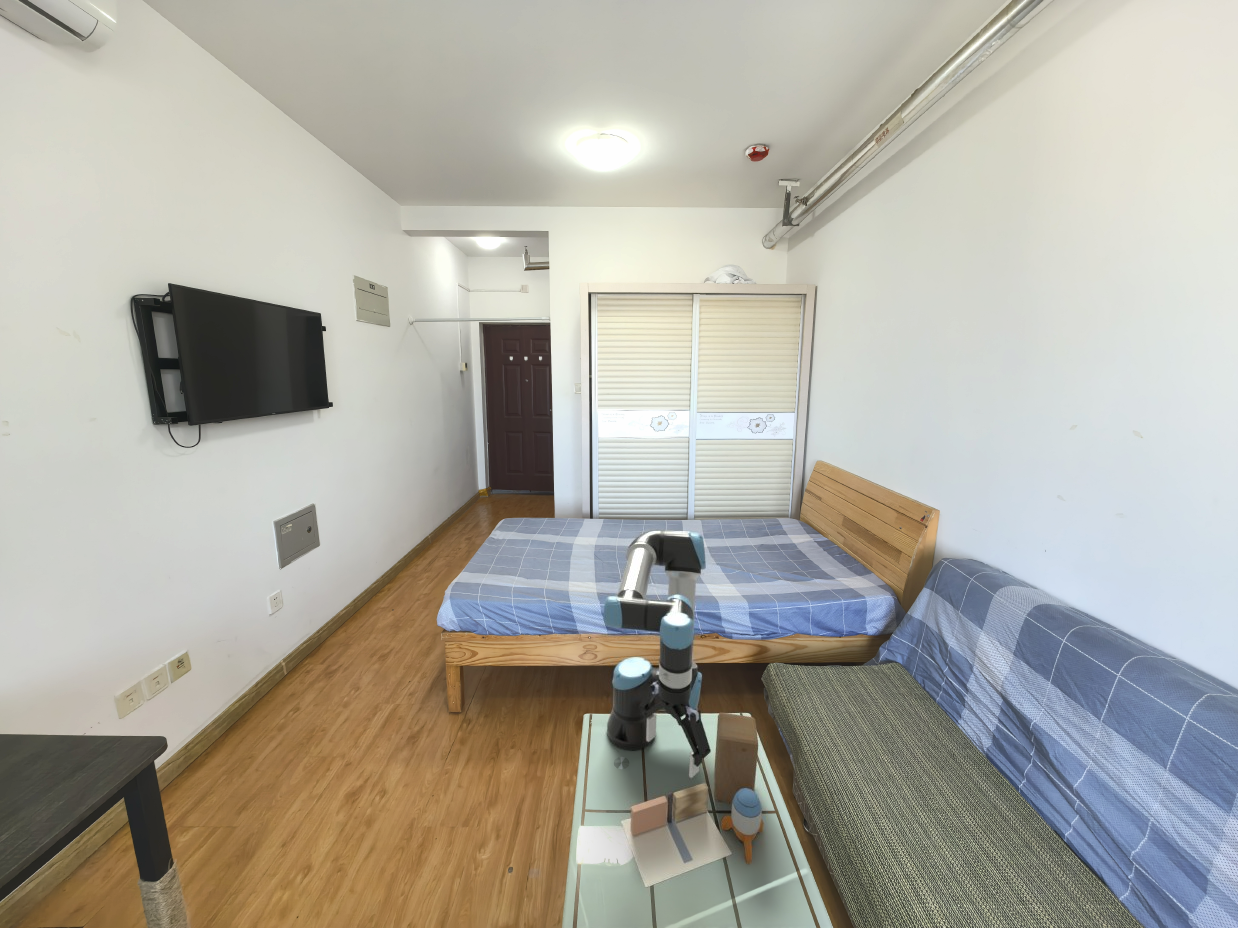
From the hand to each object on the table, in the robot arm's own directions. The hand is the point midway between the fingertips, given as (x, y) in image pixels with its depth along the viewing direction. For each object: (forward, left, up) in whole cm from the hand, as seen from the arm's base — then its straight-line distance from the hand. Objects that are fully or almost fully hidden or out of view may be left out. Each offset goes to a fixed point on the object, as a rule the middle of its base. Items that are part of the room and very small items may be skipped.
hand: (671, 755), depth 111 cm
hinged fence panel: (0, -5, -20) cm, 20 cm away
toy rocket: (+10, +17, -21) cm, 29 cm away
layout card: (+4, 0, -21) cm, 21 cm away
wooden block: (-3, +21, -21) cm, 30 cm away
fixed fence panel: (0, +5, -21) cm, 21 cm away
